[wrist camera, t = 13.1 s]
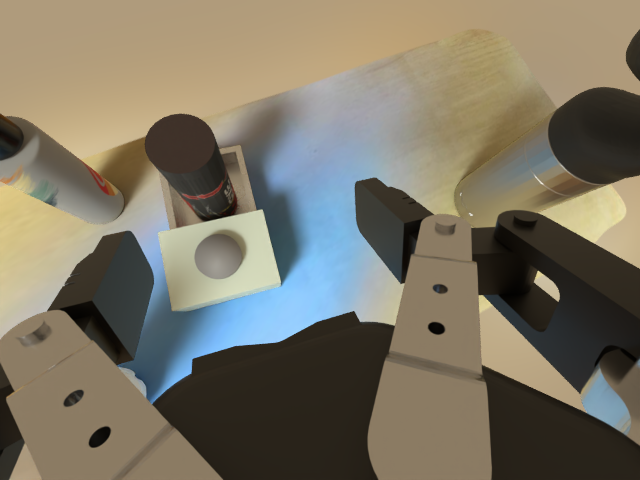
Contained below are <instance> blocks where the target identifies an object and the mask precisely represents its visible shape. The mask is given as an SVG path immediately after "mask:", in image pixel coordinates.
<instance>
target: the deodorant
mask: <svg viewBox="0 0 640 480" xmlns="http://www.w3.org/2000/svg"><path fill="white" fill-rule="evenodd" d="M145 149H146V153H147V156H148V158H149V160H150V161H151V162H152V163H153V164H154V166H155V167H156V168H157V169H158V170H159V171H160V173H161V174H162V175H163V176H164V177H165V179H166V180H167V181H168V182H169V183H170V185H171V186H172V187H173V188H174V189H175V190H176V192H177V193H178V194H179V195H180V196H181V198H182V199H183V200H184V201H185V202H186V203H187V205H188V206H189V207H190V208H191V209H192V211H193V212H194V213H195V214H196V215H197V216H198V217H199V218H200V219H202V220H203V221H206V222H208V221H212V220H217V219H221V218H226V217H230V216H232V214H233V213H234V212H235V210H236V207H237V197H236V194H235V191H234V188H233V185H232V183H231V180H230V177H229V175H228V172H227V169H226V166H225V164H224V161H223V158H222V156H221V153H220V150H219V147H218V145H217V142H216V139H215V137H214V134H213V132H212V130H211V128H210V127H209V126H208V125H207V124H206V123H205V122H204V121H202V120H201V119H199V118H198V117H195V116H192V115H187V114H174V115H170V116H167V117H164V118H162V119H161V120H159V121H158V122H156V123H155V124H154V125H153V126H152V127H151V128H150V130H149V132H148V134H147V136H146V140H145Z"/></svg>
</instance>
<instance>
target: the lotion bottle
mask: <svg viewBox="0 0 640 480" xmlns="http://www.w3.org/2000/svg"><path fill="white" fill-rule="evenodd" d="M0 181H1V182H3V183H5V184H7V185H9V186H11V187H13V188H15V189H18V190H20V191H22V192H24V193H26V194H28V195H30V196H32V197H35V198H37V199H39V200H41V201H43V202H45V203H47V204H49V205H52V206H54V207H56V208H58V209H60V210H62V211H64V212H66V213H69V214H71V215H73V216H75V217H77V218H79V219H81V220H84V221H86V222H89V223H92V224H106V223H109V222H111V221H113V220H114V219H116V218H117V217H118V216H119V215H120V214H121V212H122V210H123V207H124V198H123V195H122V194H121V192H120V191H119V190H118V189H117V188H116V187H115V186H114V185H112V184H111V183H110V182H109V181H107V180H106V179H105V178H103V177H102V176H101V175H99V174H98V173H97V172H96V171H94V170H93V169H92V168H90V167H89V166H88V165H86V164H85V163H84V162H82V161H81V160H80V159H79V158H77V157H76V156H75V155H73V154H72V153H71V152H69V151H68V150H67V149H66V148H64V147H63V146H62V145H60V144H59V143H57V142H56V141H55V140H54V139H52V138H51V137H50V136H49V135H47V134H46V133H45V132H43V131H42V130H41V129H39V128H38V127H36V126H35V125H34V124H32V123H31V122H29V121H27V120H25V119H22V118H19V117H12V116H3V115H2V114H0Z"/></svg>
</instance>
